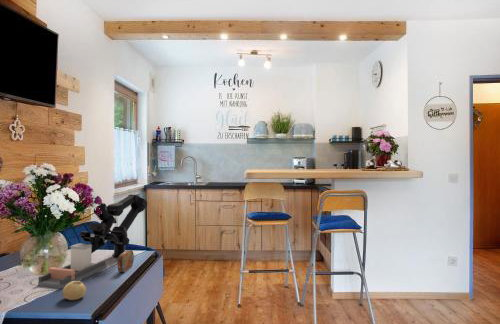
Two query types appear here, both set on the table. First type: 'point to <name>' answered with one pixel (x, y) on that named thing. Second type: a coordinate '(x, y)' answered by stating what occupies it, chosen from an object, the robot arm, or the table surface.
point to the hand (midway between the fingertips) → (90, 252)
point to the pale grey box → (80, 256)
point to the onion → (74, 290)
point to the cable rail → (57, 281)
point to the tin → (125, 261)
